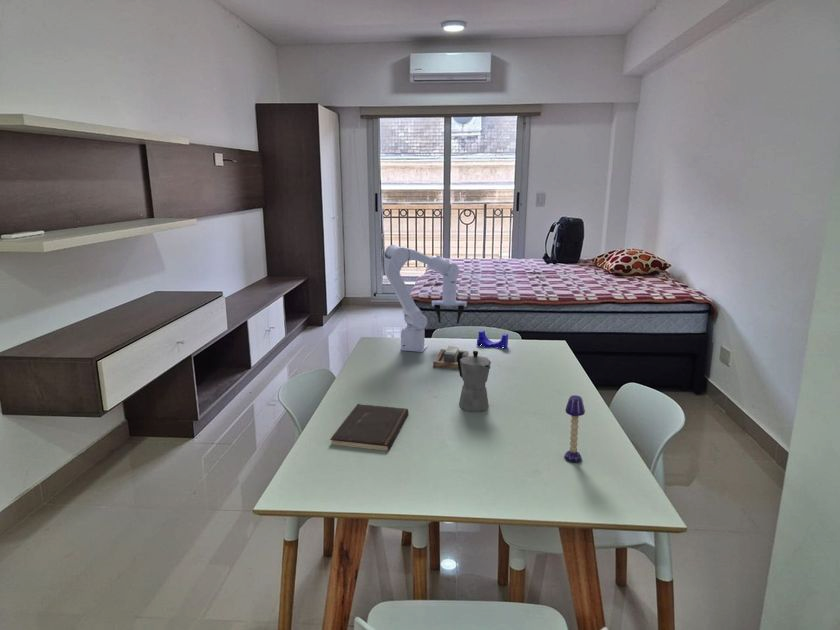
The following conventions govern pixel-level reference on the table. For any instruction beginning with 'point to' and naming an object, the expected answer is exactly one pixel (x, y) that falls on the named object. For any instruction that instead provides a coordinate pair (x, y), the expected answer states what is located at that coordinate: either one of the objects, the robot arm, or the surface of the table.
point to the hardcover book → (370, 427)
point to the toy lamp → (574, 426)
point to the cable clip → (488, 343)
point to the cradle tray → (441, 364)
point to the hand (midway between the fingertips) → (448, 322)
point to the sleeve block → (451, 354)
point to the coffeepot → (473, 381)
